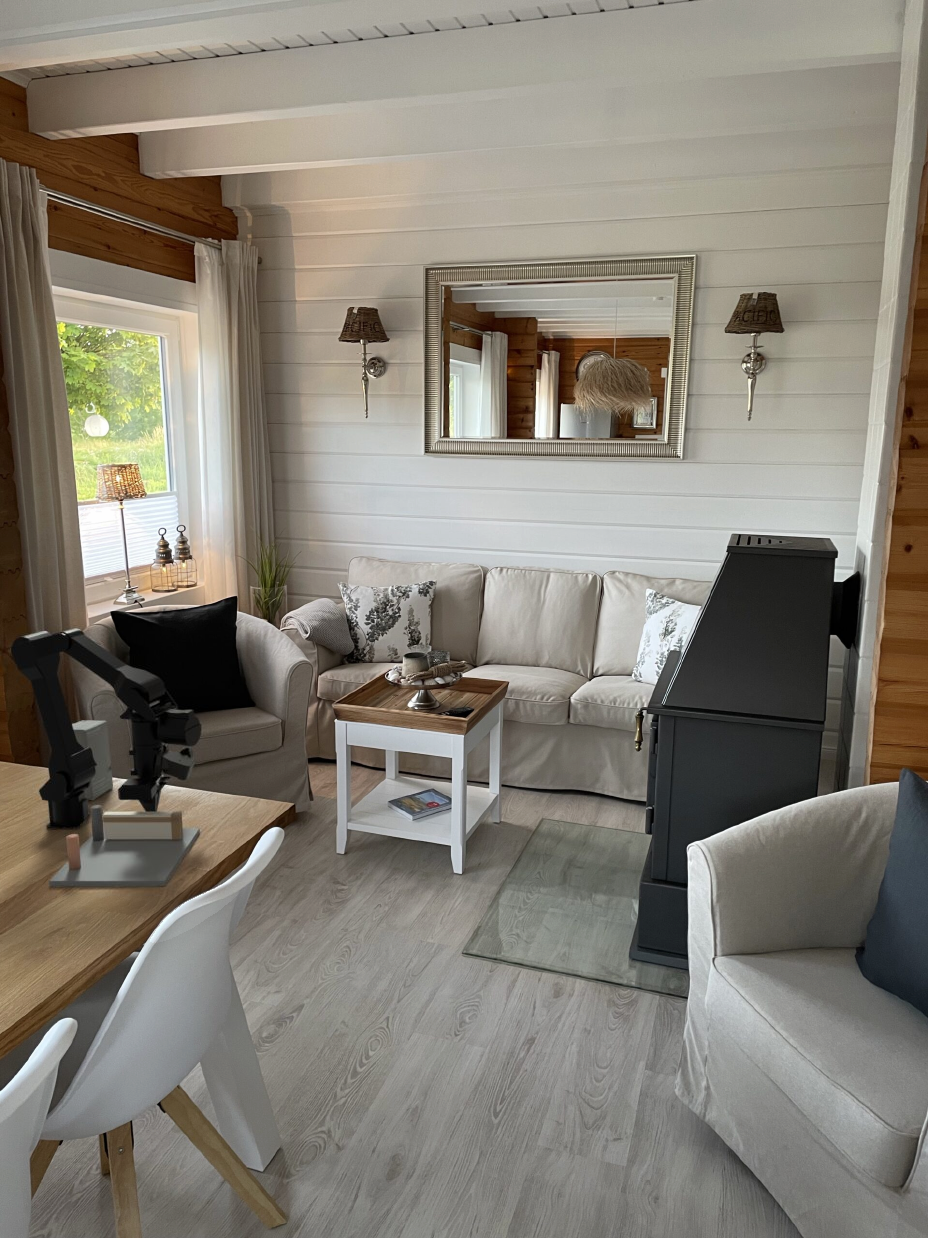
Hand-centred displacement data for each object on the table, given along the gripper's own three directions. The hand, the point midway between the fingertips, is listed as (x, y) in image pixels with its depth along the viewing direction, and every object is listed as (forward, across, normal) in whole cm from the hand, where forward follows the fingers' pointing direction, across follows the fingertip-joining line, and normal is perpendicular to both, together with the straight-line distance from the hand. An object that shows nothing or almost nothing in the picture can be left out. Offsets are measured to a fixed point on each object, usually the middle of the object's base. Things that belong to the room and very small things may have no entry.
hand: (152, 816), depth 179 cm
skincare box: (+4, +22, +21) cm, 30 cm away
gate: (+2, -5, 0) cm, 5 cm away
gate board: (+4, -11, +1) cm, 11 cm away
